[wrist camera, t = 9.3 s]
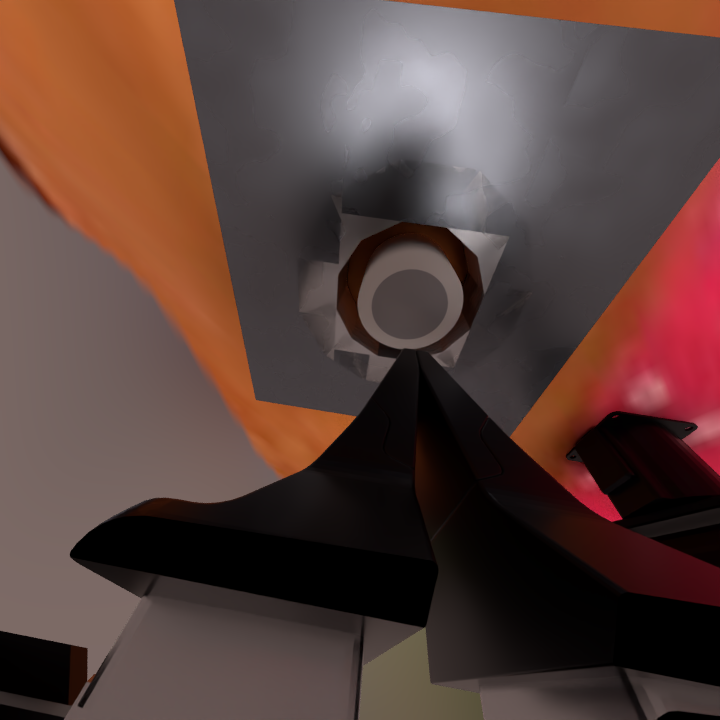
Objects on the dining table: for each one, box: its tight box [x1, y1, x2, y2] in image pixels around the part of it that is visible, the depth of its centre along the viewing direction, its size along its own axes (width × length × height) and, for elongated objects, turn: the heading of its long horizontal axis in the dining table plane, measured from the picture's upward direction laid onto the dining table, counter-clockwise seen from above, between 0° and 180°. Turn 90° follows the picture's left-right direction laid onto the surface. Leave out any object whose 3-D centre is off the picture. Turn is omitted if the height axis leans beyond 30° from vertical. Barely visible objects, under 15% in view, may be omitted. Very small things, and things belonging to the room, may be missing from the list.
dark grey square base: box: [174, 0, 720, 437], centre depth 14 cm, size 18×18×4 cm
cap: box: [358, 233, 463, 349], centre depth 14 cm, size 5×5×4 cm
